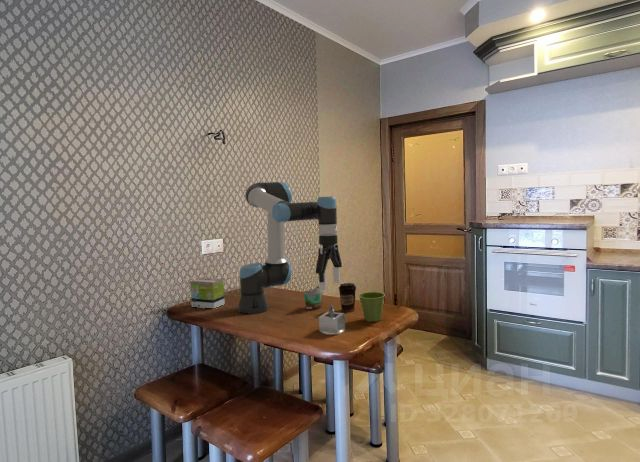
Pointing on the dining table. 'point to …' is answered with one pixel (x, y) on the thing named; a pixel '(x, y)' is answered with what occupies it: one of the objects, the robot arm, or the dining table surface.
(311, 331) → the dining table surface
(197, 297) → the tea box
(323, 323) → the collar
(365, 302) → the plant pot
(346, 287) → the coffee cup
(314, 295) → the food container
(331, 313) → the post
